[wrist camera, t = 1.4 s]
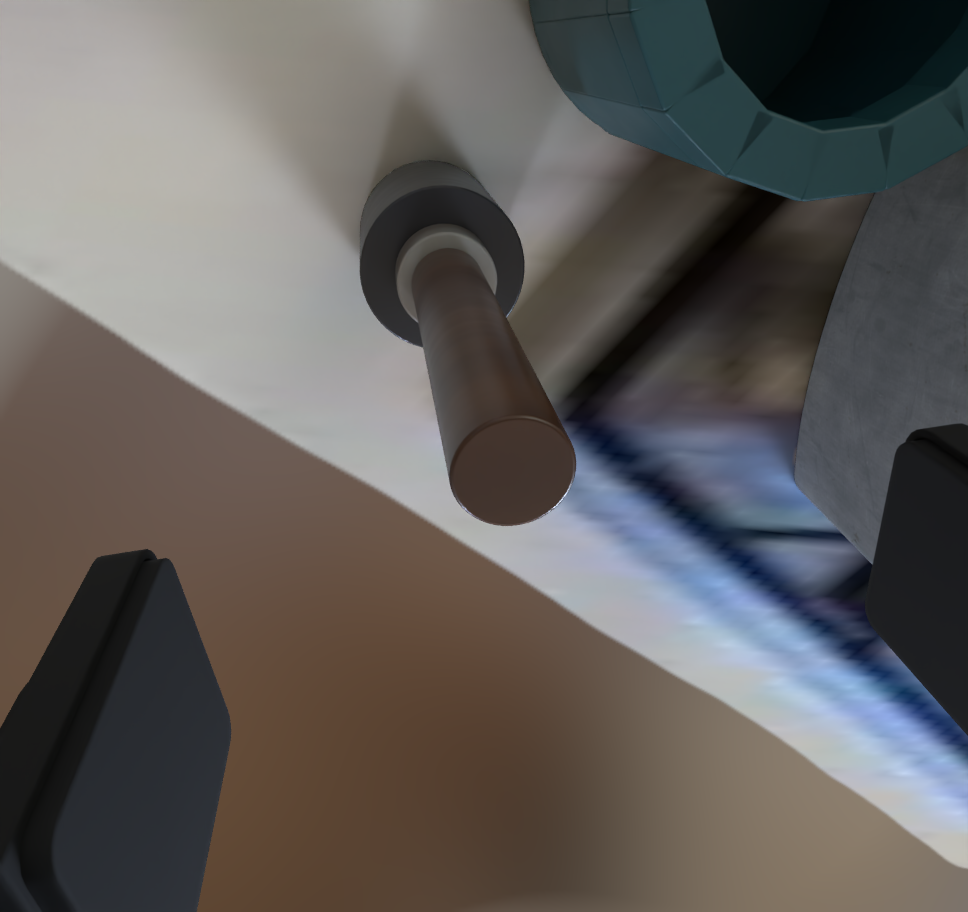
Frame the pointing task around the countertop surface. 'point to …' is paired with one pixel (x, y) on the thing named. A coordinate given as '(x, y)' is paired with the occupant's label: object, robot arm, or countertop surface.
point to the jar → (771, 84)
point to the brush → (466, 336)
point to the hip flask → (889, 348)
